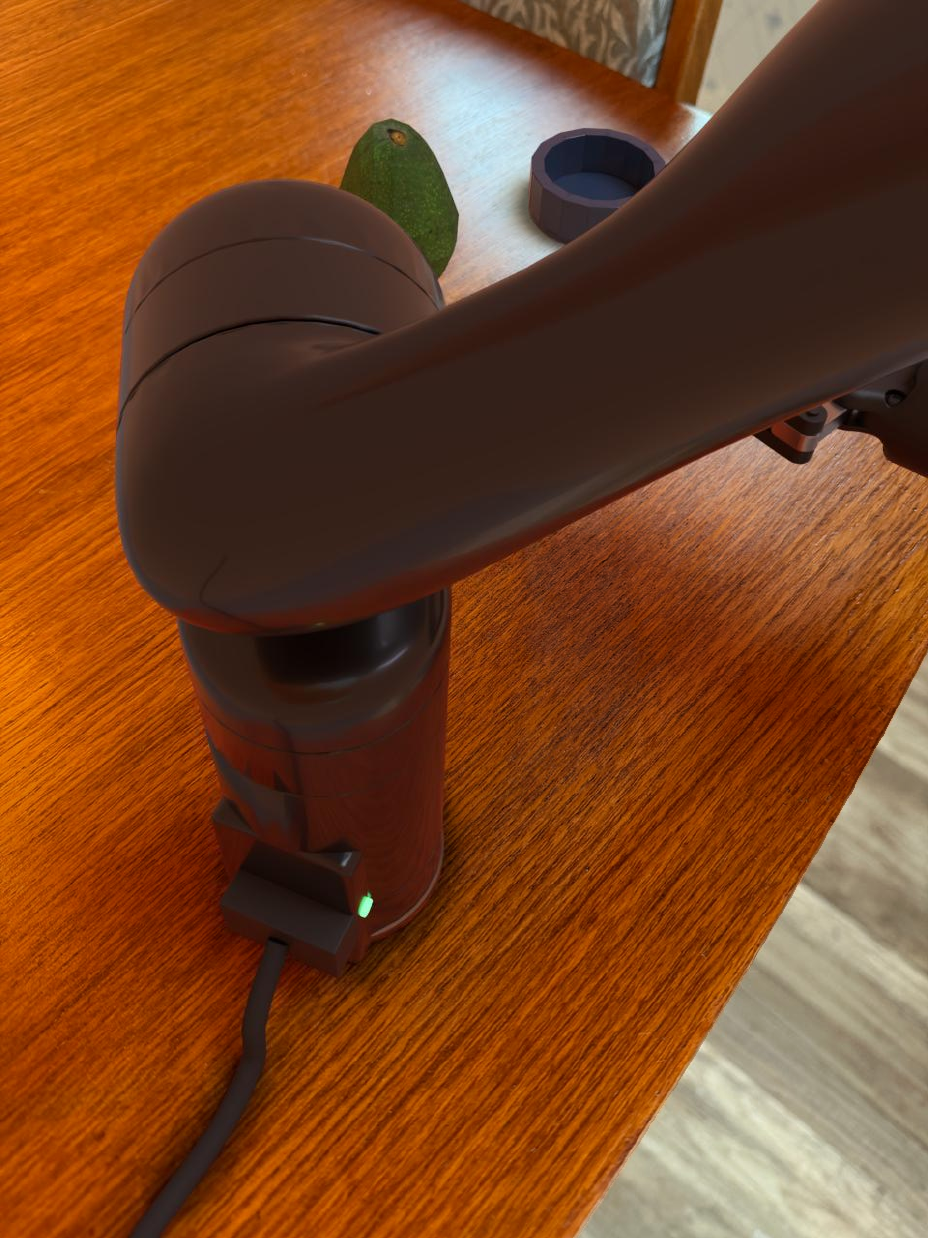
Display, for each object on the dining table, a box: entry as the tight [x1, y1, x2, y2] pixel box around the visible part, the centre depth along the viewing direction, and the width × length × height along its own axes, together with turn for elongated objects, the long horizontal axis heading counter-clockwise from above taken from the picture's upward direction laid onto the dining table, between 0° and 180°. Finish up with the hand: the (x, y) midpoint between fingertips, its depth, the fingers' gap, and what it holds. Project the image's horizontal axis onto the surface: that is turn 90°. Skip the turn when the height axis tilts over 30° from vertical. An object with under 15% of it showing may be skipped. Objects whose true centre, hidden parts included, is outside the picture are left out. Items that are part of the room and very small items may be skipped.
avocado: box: [338, 117, 460, 280], centre depth 75 cm, size 8×8×12 cm
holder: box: [527, 127, 667, 246], centre depth 85 cm, size 9×9×4 cm
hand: (668, 271), depth 55 cm, fingers closed on candle, 4 cm apart
